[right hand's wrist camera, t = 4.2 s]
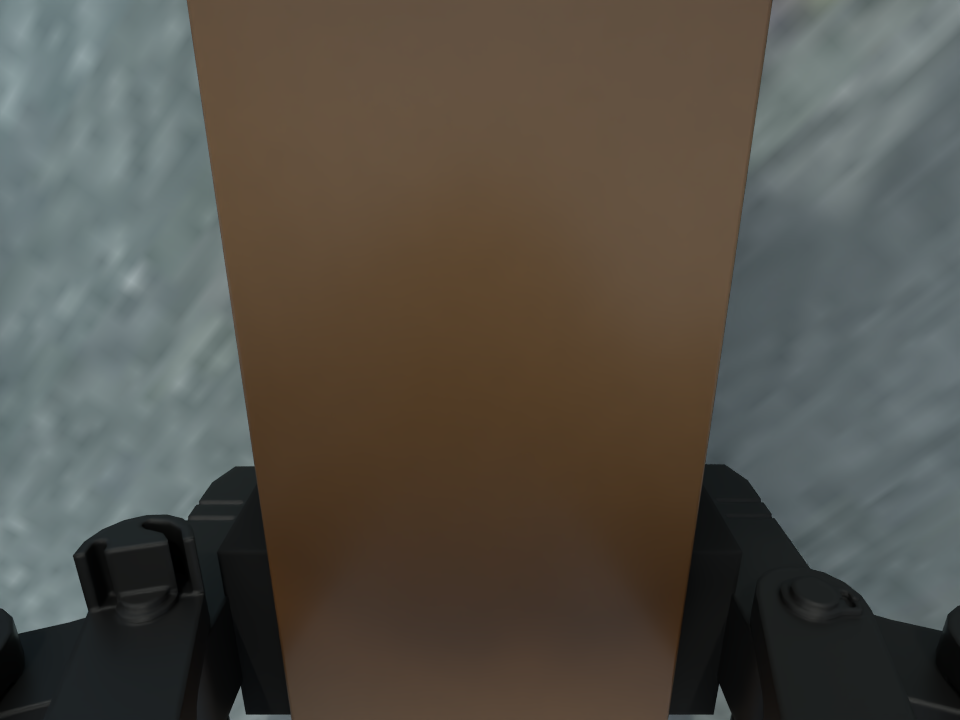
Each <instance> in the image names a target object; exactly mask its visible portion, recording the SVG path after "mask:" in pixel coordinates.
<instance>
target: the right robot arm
mask: <svg viewBox="0 0 960 720" xmlns="http://www.w3.org/2000/svg"><path fill="white" fill-rule="evenodd" d="M73 558H74V561H75V565H76V568H77V572H78V576H79V579H80V583H81V586H82V590H83V593H84V597H85V601H86V604H87V608H88V614H87V616H86V618H83V619H80V620H76V621H73V622H69V623H65V624H60V625H56V626H51V627H47V628H42V629H38V630H33V631H29V632H24V633H20V634H18V632H17V629H16V626H15V624H14V621H13V618H12V617H11V616H10V615H9V614H8V613H7V612H6V611H4V610H3V609H0V720H230V718H229V713H230V711H231V708H232V706H233V703H234V701H235V698H236V696H237V693H238V691H239V689H240V686H241V689H242V695H243V700H244V706H245V711H246V715H254V714H291V712H290V706H289V699H288V692H287V685H286V678H285V671H284V664H283V657H282V651H281V644H280V637H279V630H278V623H277V616H276V609H275V602H274V596H273V589H272V582H271V575H270V568H269V561H268V554H267V548H266V541H265V534H264V527H263V520H262V513H261V506H260V499H259V493H258V486H257V479H256V472H255V467H234V468H232V469H231V470H230V471H228V472H227V473H225V474H224V475H222V476H221V477H219V478H218V479H217V480H215V481H214V482H212V484H211V485H210V486H209V488H208V489H207V491H206V492H205V494H204V495H203V496H202V498H201V499H200V501H199V505H196V506H195V508H194V509H193V511H192V512H191V513H190V515H189V516H188V521H185V520H184V519H183V518H179V517H175V516H171V515H145V516H141V517H136V518H132V519H128V520H124V521H121V522H119V523H117V524H114V525H112V526H109V527H107V528H105V529H102V530H101V531H99V532H98V533H96V534H95V535H93V536H92V537H91V538H89V539H88V540H86V541H85V542H84V543H83V544H82V545H81V546H80V548H79V549H78V550H77V551H76V552H75V554H74V555H73ZM719 684H720V686H721V689H722V691H723V694H724V696H725V699H726V701H727V703H728V706H729V708H730V711H731V718H730V720H960V606H957V607H956V608H955V609H954V610H953V611H951V612H950V613H949V614H948V616H947V619H946V622H945V625H944V628H943V631H939V630H935V629H930V628H926V627H921V626H917V625H912V624H908V623H903V622H899V621H894V620H890V619H886V618H883V617H880V616H876V615H873V612H872V610H871V609H870V607H869V606H868V605H867V603H866V602H865V600H864V599H863V597H862V596H861V595H860V594H859V593H857V592H856V591H855V590H853V589H852V588H851V587H850V586H848V585H847V584H846V583H845V582H843V581H840V580H838V579H836V578H834V577H832V576H830V575H828V574H826V573H824V572H820V571H816V570H812V569H810V568H809V566H808V565H807V563H806V562H805V561H804V559H803V558H802V556H801V555H800V554H799V552H798V551H797V549H796V548H795V546H794V545H793V544H792V542H791V541H790V539H789V538H788V537H787V535H786V534H785V532H784V531H783V530H782V528H781V527H780V525H779V524H778V523H777V521H776V520H775V518H772V514H771V513H770V511H769V510H768V508H767V507H766V506H765V504H764V503H761V499H760V497H759V496H758V494H757V493H756V491H755V490H754V489H753V487H752V486H751V484H750V483H749V482H748V480H746V479H745V478H743V477H742V476H741V475H739V474H738V473H736V472H735V471H733V470H732V469H730V468H729V467H728V466H726V465H725V464H705V468H704V475H703V482H702V489H701V496H700V502H699V509H698V516H697V523H696V530H695V537H694V544H693V551H692V557H691V564H690V571H689V578H688V585H687V592H686V599H685V606H684V612H683V619H682V626H681V633H680V640H679V647H678V654H677V661H676V667H675V674H674V681H673V688H672V695H671V702H670V709H669V714H706V715H714V709H715V703H716V698H717V692H718V687H719Z"/></svg>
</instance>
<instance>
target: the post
mask: <svg viewBox="0 0 960 720" xmlns="http://www.w3.org/2000/svg"><path fill="white" fill-rule="evenodd" d="M187 5H188V12H189V19H190V25H191V32H192V39H193V46H194V53H195V60H196V67H197V74H198V80H199V87H200V94H201V101H202V108H203V115H204V122H205V128H206V135H207V142H208V149H209V156H210V163H211V170H212V177H213V183H214V190H215V197H216V204H217V211H218V218H219V225H220V232H221V238H222V245H223V252H224V259H225V266H226V273H227V280H228V286H229V293H230V300H231V307H232V314H233V321H234V328H235V335H236V341H237V348H238V355H239V362H240V369H241V376H242V383H243V390H244V396H245V403H246V410H247V417H248V424H249V431H250V438H251V444H252V451H253V458H254V465H255V472H256V479H257V486H258V493H259V499H260V506H261V513H262V520H263V527H264V534H265V541H266V548H267V554H268V561H269V568H270V575H271V582H272V589H273V596H274V602H275V609H276V616H277V623H278V630H279V637H280V644H281V651H282V657H283V664H284V671H285V678H286V685H287V692H288V699H289V706H290V712H291V719H292V720H668V716H669V709H670V702H671V695H672V688H673V681H674V674H675V667H676V661H677V654H678V647H679V640H680V633H681V626H682V619H683V612H684V606H685V599H686V592H687V585H688V578H689V571H690V564H691V557H692V551H693V544H694V537H695V530H696V523H697V516H698V509H699V502H700V496H701V489H702V482H703V475H704V468H705V461H706V454H707V447H708V441H709V434H710V427H711V420H712V413H713V406H714V399H715V392H716V386H717V379H718V372H719V365H720V358H721V351H722V344H723V337H724V330H725V324H726V317H727V310H728V303H729V296H730V289H731V282H732V275H733V269H734V262H735V255H736V248H737V241H738V234H739V227H740V220H741V214H742V207H743V200H744V193H745V186H746V179H747V172H748V165H749V159H750V152H751V145H752V138H753V131H754V124H755V117H756V110H757V104H758V97H759V90H760V83H761V76H762V69H763V62H764V55H765V48H766V42H767V35H768V28H769V21H770V14H771V7H772V0H187Z"/></svg>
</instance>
